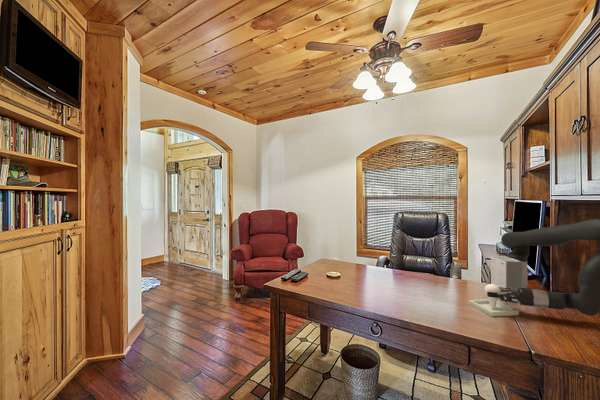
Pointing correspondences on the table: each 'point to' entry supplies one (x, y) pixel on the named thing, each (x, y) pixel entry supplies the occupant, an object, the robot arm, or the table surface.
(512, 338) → the table surface
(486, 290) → the lightbulb
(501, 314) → the tray
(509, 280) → the hard drive box
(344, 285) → the table surface
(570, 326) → the table surface
